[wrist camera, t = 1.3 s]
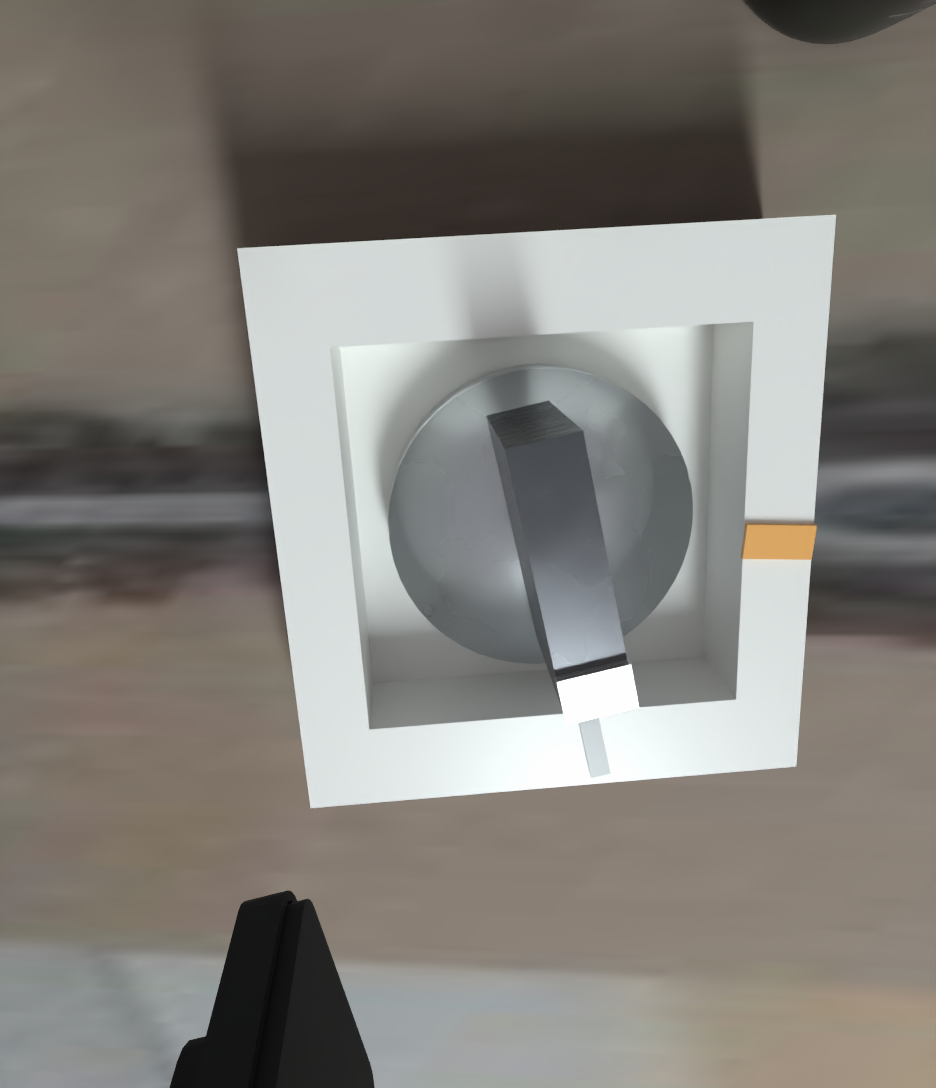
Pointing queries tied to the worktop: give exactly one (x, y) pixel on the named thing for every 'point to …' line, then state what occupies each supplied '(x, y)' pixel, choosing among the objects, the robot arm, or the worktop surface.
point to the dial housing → (561, 339)
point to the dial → (543, 525)
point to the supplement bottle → (834, 17)
